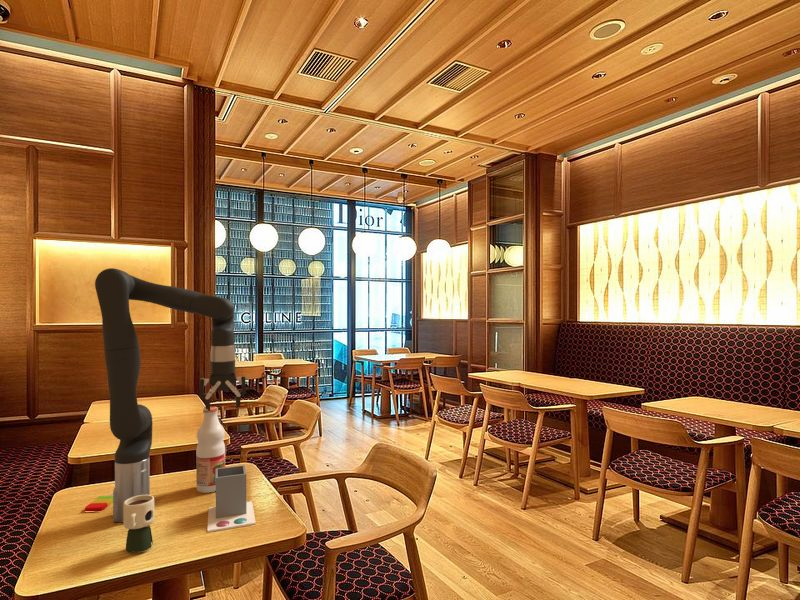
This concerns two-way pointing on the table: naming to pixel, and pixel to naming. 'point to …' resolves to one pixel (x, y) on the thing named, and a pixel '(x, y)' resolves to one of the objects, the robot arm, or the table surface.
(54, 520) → the table surface
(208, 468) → the strawberry milk bottle
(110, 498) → the popsicle
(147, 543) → the character mug
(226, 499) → the tube card
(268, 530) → the table surface
